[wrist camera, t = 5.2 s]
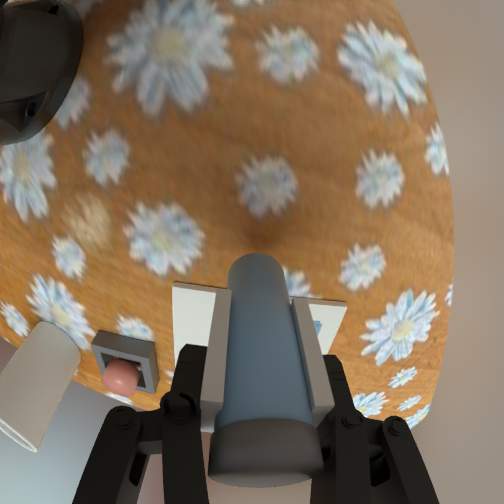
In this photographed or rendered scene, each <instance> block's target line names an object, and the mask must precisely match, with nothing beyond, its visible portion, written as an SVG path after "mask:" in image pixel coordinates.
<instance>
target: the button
mask: <svg viewBox="0 0 504 504" xmlns="http://www.w3.org/2000/svg"><path fill="white" fill-rule="evenodd" d="M139 378H140V373H139V371H138V369H137V368H136V367H135V366H134V365H132V364H131V363H129V362H127V361H125V360H123V359H118V358H114V359H111V360H110V361H109V363H108V365H107V367H106V369H105V371H104V373H103V375H102V378H101V380H102V383H103V384H104V386H105V387H106V388H107V389H109V390H110V391H112V392H113V393H115V394H118V395H120V396H125V397H129V396H132V395H133V394H134V392H135V389H136V386H137V383H138V381H139Z"/></svg>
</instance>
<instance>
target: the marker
mask: <svg viewBox="0 0 504 504" xmlns="http://www.w3.org/2000/svg"><path fill="white" fill-rule="evenodd" d="M227 290H232V294H231V306H230V317H229V330H228V342H227V355H226V369H225V383H224V397H223V407H222V410H221V411H219V412H218V413H217V415H216V416H215V422H214V432H213V433H212V435H211V438H210V451H209V463H208V464H209V465H208V476H209V478H211V479H212V480H214V481H217V482H219V483H223V484H227V485H232V486H238V487H254V488H264V487H277V486H284V485H290V484H295V483H299V482H303V481H306V480H309V479H311V478H314V477H316V476H318V475H319V474H321V473H322V472H323V471H324V463H323V457H322V452H321V446H320V440H319V434H318V430H317V429H316V427H314V422H313V417H312V413H311V408H310V402H309V397H308V391H307V386H306V380H305V375H304V370H303V365H302V360H301V354H300V349H299V344H298V339H297V334H296V329H295V324H294V320H293V315H292V310H291V304H290V300H289V295H288V290H287V286H286V281H285V277H284V272H283V269H282V267H281V265H280V264H279V262H278V261H277V260H275V259H274V258H273V257H271V256H269V255H266V254H261V253H252V254H248V255H245V256H242V257H241V258H239V259H238V260H236V261H235V262H234V263H233V265H232V266H231V268H230V270H229V274H228V283H227Z"/></svg>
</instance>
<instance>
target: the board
mask: <svg viewBox="0 0 504 504" xmlns="http://www.w3.org/2000/svg"><path fill="white" fill-rule="evenodd" d="M217 289H221V288H214V287H207V286H200V285H193V284H186V283H180V282H174V284H173V286H172V300H173V333H174V353H175V368H176V364H177V360H178V355H179V351H180V350H181V349H182V348H183V347H184V345H185V344H186V343H187V344H194V345H201V346H208V342H209V335H210V329H211V322H212V316H213V310H214V303H215V297H216V291H217ZM225 290H227V289H225ZM292 299H293V297H289V300H290V304H291V302H292ZM307 301H308V304H309V308H310V311H311V315H312V319H313V322H314V326H315V329H316V333H317V337H318V340H319V344H320V348H321V352H322V355H327V353H328V351H329V348H330V346H331V344H332V342H333V340H334V337H335V335H336V333H337V331H338V328H339V326H340V324H341V321H342V319H343V316H344V314H345V312H346V309H347V305H346V303H345V302H339V301H327V300H317V299H307Z"/></svg>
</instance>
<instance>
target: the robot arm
mask: <svg viewBox="0 0 504 504" xmlns="http://www.w3.org/2000/svg"><path fill="white" fill-rule="evenodd" d="M7 1H8V0H0V146H1V145H9V144H13V143H18V142H22V141H25V140H27V139H29V138H31V137H32V136H34V135H35V134H36V133H38V132H39V131H40V130H41V129H42V128H43V127H44V126H45V125H46V124H47V123H48V122H49V120H50V119H51V118H52V116H53V115H54V114H55V112H56V111H57V109H58V108H59V106H60V104H61V103H62V101H63V99H64V97H65V95H66V93H67V91H68V89H69V87H70V85H71V82H72V80H73V77H74V75H75V72H76V69H77V66H78V62H79V58H80V54H81V48H82V39H83V31H82V24H81V20H80V17H79V15H78V13H77V12H76V11H75V9H73V8H72V7H71V6H69V5H67V4H65V3H63V2H60V1H58V0H25V1H17V2H10V3H6V2H7ZM231 294H232V290H225V289H217V291H216V297H215V303H214V310H213V316H212V322H211V329H210V335H209V342H208V346H201V345H194V344H187V343H186V344H185V345H184V347H183V348H182V349H181V350H180V351H179V355H178V360H177V364H176V368H175V372H174V376H173V381H172V385H171V390H170V391H169V392H167V393H166V394H165V395H164V396H163V397H162V398H161V401H160V408H159V409H157V410H153V411H142V412H136V411H135V410H134V409H132V408H131V407H127V406H117V407H114V408H113V409H111V410H110V411H109V412H108V414H107V416H106V418H105V420H104V423H103V425H102V427H101V429H100V432H99V434H98V437H97V439H96V441H95V444H94V446H93V449H92V451H91V454H90V456H89V459H88V461H87V464H86V466H85V469H84V472H83V474H82V477H81V480H80V482H79V485H78V488H77V491H76V494H75V497H74V499H73V502H72V504H137V500H138V496H139V493H140V489H141V485H142V482H143V478H144V475H145V471H146V468H147V464H148V461H149V457H150V455H151V454H162V462H163V463H162V465H163V487H164V502H165V504H209V499H208V492H207V485H206V477H205V468H204V460H203V450H202V440H201V431H204V432H212V433H213V432H214V422H215V416H216V415H217V413H218V412H219V411H221V410H222V407H223V397H224V383H225V369H226V355H227V342H228V330H229V317H230V306H231ZM291 310H292V315H293V320H294V324H295V329H296V334H297V339H298V344H299V349H300V354H301V360H302V365H303V370H304V375H305V380H306V386H307V391H308V397H309V402H310V408H311V413H312V417H313V422H314V427H316V429H317V430H318V434H319V440H320V446H321V452H322V457H323V463H324V471H323V472H322V473H321V474H319V475H318V476H316V477H314V478H312V484H311V497H310V504H439V501H438V498H437V496H436V493H435V490H434V488H433V485H432V482H431V480H430V477H429V475H428V472H427V469H426V467H425V464H424V462H423V459H422V457H421V454H420V452H419V450H418V447H417V445H416V443H415V440H414V438H413V436H412V434H411V431H410V429H409V427H408V424H407V423H406V421H405V420H404V419H402V418H401V417H398V416H390V417H388V418H386V419H385V420H384V421H380V420H374V419H369V418H366V417H364V416H363V414H362V413H361V412H360V411H358V410H356V409H355V406H354V403H353V400H352V396H351V393H350V389H349V386H348V383H347V381H346V376H345V374H344V370H343V366H342V363H341V362H340V360H339V359H338V358H337V357H336V355H322V352H321V348H320V344H319V340H318V337H317V333H316V329H315V326H314V322H313V319H312V315H311V311H310V308H309V304H308V301H307V298H298V297H293V299H292V302H291Z"/></svg>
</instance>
